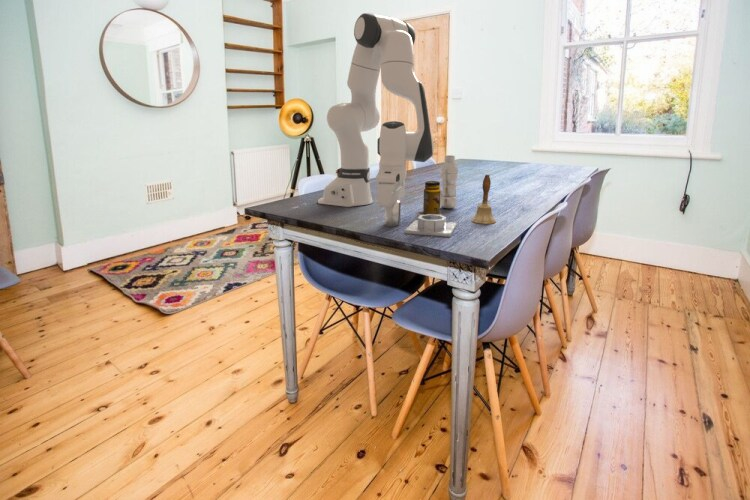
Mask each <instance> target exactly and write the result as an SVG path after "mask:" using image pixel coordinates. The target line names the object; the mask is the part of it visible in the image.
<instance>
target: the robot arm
mask: <svg viewBox="0 0 750 500" xmlns="http://www.w3.org/2000/svg"><path fill="white" fill-rule="evenodd" d="M353 35H354V38H355V41H356V46H355V47H354V50H353V55H352V57H351V63H350V67H349V72H348V77H347V81H346V85H347V87H348V89H349V90H350V94H351V95H350V96H351V102H342V103H341V102H340V103H337V104H335V105H332V106H330V108H329V109H328V111H327V115H326V121H327V125H328V127H329V128H330V130H332V132H333V133H334V134H335V137H336V139H337V141H338V146H339V150H340V151H339V152H340V167H339V168H338V169H336V170H335V174H336V175H337V177H336V178H334V179H333V180H331V181H330V182H329V183H328V184H327V185H325V187H324V189H323V196H322V197H320V198H318V200H317V203H318V204H319V205H321V204H322V205H330V206H338V207H347V208H350V207H357V206H365V205H370V204H372V203H373V202H374V200H373V198H372V192H371V188H370V187H371V186H370V180H371V172H370V171H371V170H370V169H371V168H370V167H369V165H370V164H369V161H370V160H369V159H370V158H369V147H368V145H367V144H366V143H365V142H364V140H363V137H362V134H361V132H368V131H370V130H372V129H374V128H376V127H377V126H378V124H379V122H380V118H381V117H380V111H379V109H378V108H377V104H376V93H377V85H378V82H379V81H378V80H379V76H380V78H381V82H382V85H383V86H384V88H385V89H386V90H387V91H388V92H390V93H391V94H393V95H394V96H395V95H396V96H398V97H399V98H402V99H405V100H407V101H409V102H410V103H412V104H413V106H414V108H415V112H416V113H415V115H416V121H417V130H416V131H407V129H406V124H405V123H403V122H401V121H396V120H394V121H387V122H384V123H382V124H381V128H380V130H379V131H380V134H379V136H378V138H377V142H376V143H377V145H376V146H377V154H378V155H379V156H380V160H379V164H378V168H379V169H378V172H377V174H376V175H375V182H376V183H377V199H378V200H377V201H378V202H377V203H378V205H379V207H381V208H384V209H385V208H386V212H387V217H388V218H391V217H393V212H392V207H393V204H394V203H396V202H397V201H398V200H400V201H401V199H403V198H404V197H405V193H406V185H405V184H406V183H405V180H407V162H409V161H410V162H412V161H413V162H418V163H419V162H420V163H425V162H426V161H429V159H431V158H432V157H433V155H434V151H435V143H434V138H433V135H432V131H431V126H430V117H429V116H430V115H429V109H428V103H427V97H426V92H425V88H424V84H423V82H421V81H419V80H418V78H417V76H416V72H415V53H414V45H415V41H416V32H415V28H414V27H413V26H412V25H411V24H410V23H408V22H406V21H402V20H399V19H397V18H395V17H391V16H386V15H379V14H374V13H371V12H367V13H362V14H361V15H359V16H358V18H357V19H356V21H355V24H354V29H353Z"/></svg>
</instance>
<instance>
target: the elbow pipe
mask: <svg viewBox="0 0 750 500" xmlns="http://www.w3.org/2000/svg"><path fill="white" fill-rule="evenodd" d="M401 203H402V202H401V199H400V200H398V201H397V202H396V203H394V204H393V207H392V212H393V217H391V218H388V217H387V212H386V208H385V207H384V226H389V227H396V226H397V227H398V226H400V224H401V211H402V210H401V206H402V205H401Z"/></svg>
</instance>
